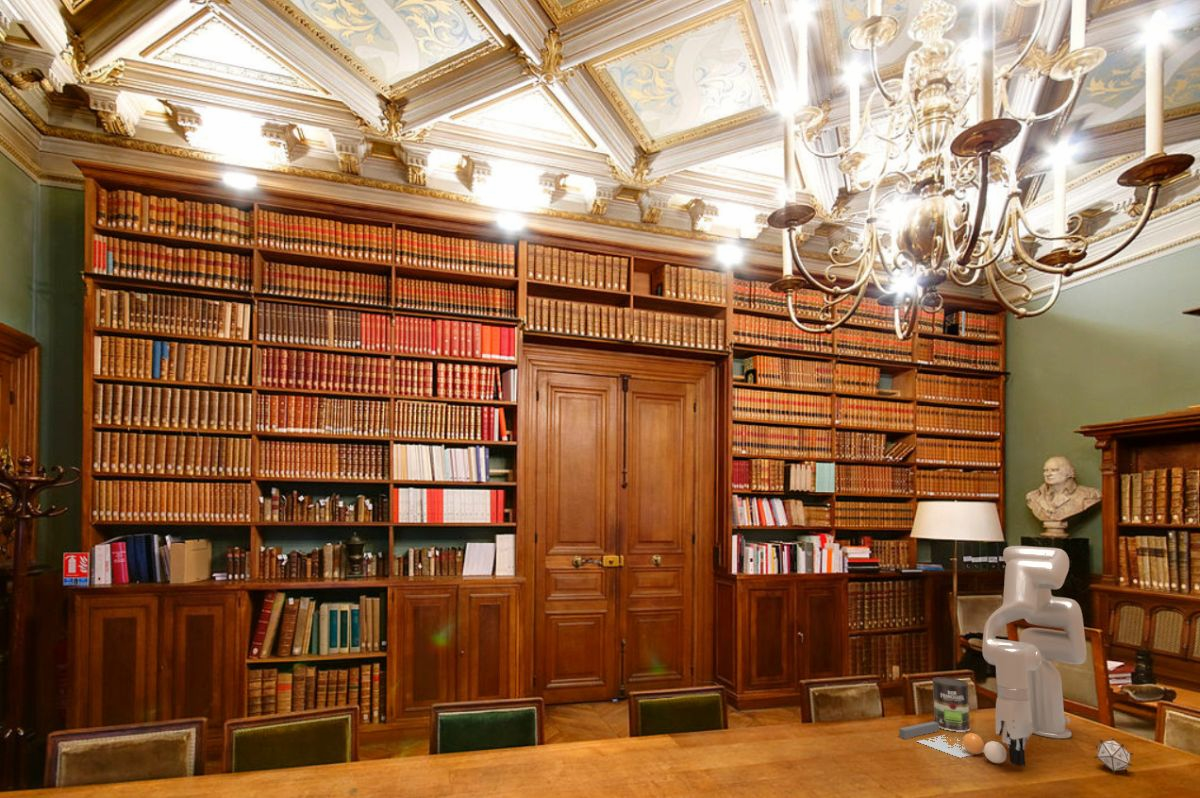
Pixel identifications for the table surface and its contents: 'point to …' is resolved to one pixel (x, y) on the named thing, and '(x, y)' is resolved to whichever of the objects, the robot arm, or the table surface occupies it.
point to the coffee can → (951, 704)
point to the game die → (1113, 755)
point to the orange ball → (973, 743)
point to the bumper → (918, 729)
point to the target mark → (946, 747)
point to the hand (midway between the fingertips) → (1017, 763)
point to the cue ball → (995, 752)
